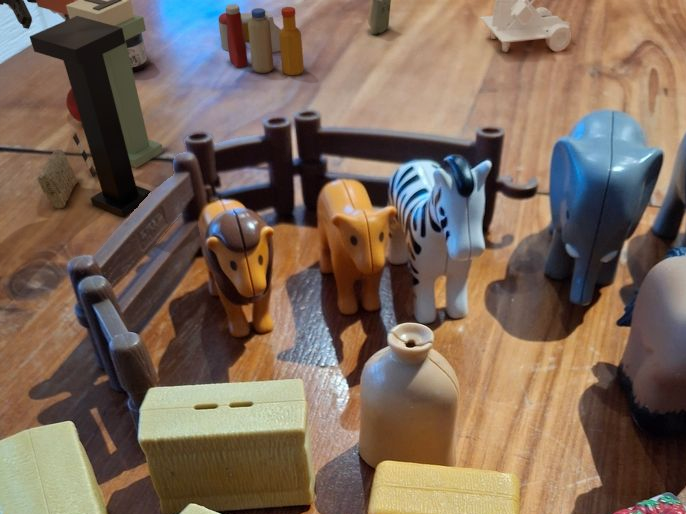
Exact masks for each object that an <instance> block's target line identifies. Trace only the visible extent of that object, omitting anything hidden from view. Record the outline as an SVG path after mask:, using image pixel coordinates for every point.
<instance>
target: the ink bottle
mask: <svg viewBox="0 0 686 514" xmlns="http://www.w3.org/2000/svg"><path fill="white" fill-rule="evenodd" d="M126 45H127V49H128V54H129V58H130V62H131V67H132V71H133V73H135V72H138V71H141V70H144V68H146V67H147V65H148V61H149V60H148V55H147V51H146V47H145V42H144V38H143V32H142V33H140V34H138V35H135V36H133V37H131V38H129V39H127V40H126Z"/></svg>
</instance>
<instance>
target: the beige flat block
mask: <svg viewBox="0 0 686 514" xmlns="http://www.w3.org/2000/svg"><path fill="white" fill-rule="evenodd" d="M36 2H37V3H36V5H37V7H38V8H41V9H45V10H49V11H50V10H52V11H56V12H60V13H64V14H67V15H69V18H70V19H71V18H73V17H75V16H80V17H84V18H87V19H91V20H95V21H98V22H102V23H106V24H109V25H113V26H116V25H118V24H121V23H123V22H125V21H127V20H129V19H131V18H134V15H135V13H134V10H133V6H132V1H131V0H36ZM52 11H51V12H52Z"/></svg>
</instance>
